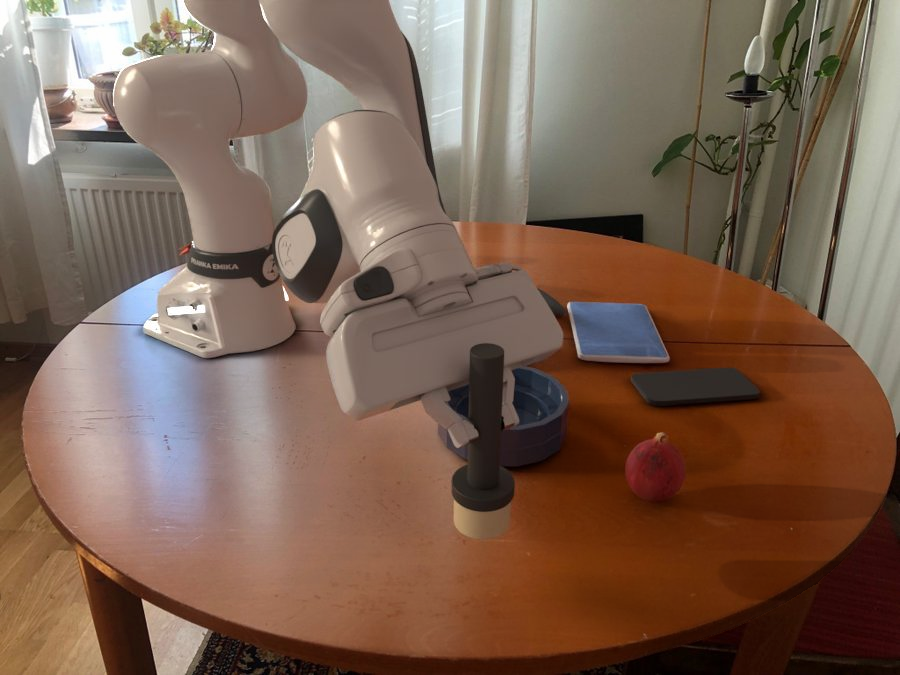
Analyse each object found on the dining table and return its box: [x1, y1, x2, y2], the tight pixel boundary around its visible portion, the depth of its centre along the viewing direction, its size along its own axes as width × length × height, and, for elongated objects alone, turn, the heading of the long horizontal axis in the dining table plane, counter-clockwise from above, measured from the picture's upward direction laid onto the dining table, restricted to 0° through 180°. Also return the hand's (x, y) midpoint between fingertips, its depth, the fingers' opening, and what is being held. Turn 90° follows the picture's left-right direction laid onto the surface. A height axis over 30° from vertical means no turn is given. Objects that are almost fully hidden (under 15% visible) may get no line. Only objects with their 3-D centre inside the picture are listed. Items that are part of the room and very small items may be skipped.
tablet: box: [566, 301, 671, 364], centre depth 110 cm, size 19×13×1 cm, turn 177°
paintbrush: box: [480, 264, 567, 317], centre depth 120 cm, size 20×5×5 cm, turn 48°
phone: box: [630, 366, 761, 407], centre depth 95 cm, size 7×1×15 cm
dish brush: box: [451, 343, 516, 541], centre depth 59 cm, size 5×5×16 cm
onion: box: [624, 431, 687, 503], centre depth 74 cm, size 6×6×8 cm
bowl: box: [437, 366, 570, 467], centre depth 85 cm, size 15×15×6 cm
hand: (488, 436), depth 58 cm, fingers closed on dish brush, 2 cm apart
